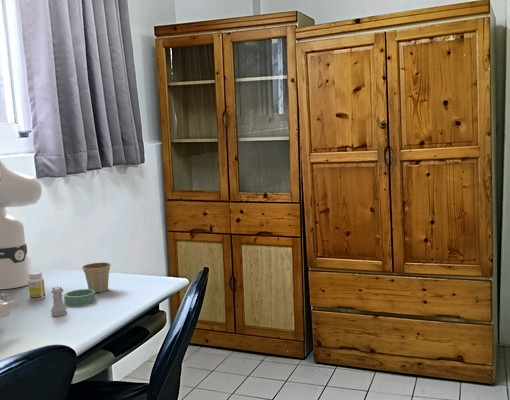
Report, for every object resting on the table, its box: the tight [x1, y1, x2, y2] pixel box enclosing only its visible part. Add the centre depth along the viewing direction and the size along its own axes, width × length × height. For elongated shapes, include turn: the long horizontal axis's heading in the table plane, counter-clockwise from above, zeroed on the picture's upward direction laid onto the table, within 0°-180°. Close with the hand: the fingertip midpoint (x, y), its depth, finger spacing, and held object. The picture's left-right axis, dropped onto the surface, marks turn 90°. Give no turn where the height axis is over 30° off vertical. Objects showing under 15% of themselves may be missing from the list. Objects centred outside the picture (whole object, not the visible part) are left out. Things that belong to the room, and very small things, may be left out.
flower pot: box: [81, 261, 112, 294], centre depth 197 cm, size 9×9×9 cm
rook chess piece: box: [50, 286, 68, 317], centre depth 172 cm, size 4×4×8 cm
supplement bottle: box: [27, 271, 46, 301], centre depth 191 cm, size 5×5×8 cm
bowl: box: [63, 288, 97, 307], centre depth 185 cm, size 9×9×3 cm
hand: (14, 299), depth 163 cm, fingers open, 8 cm apart
